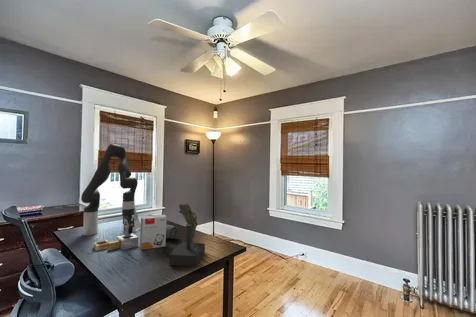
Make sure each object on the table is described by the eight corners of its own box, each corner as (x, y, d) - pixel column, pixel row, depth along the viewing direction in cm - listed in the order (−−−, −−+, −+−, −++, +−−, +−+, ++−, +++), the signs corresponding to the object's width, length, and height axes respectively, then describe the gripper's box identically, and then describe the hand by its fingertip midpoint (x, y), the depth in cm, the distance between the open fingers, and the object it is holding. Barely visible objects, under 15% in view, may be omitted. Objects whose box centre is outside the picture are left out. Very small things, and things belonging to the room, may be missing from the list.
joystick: (179, 252, 143) (179, 220, 143) (205, 253, 141) (205, 221, 141) (166, 266, 124) (167, 229, 124) (196, 267, 122) (196, 230, 122)
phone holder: (133, 233, 178) (134, 209, 178) (121, 232, 179) (122, 209, 179) (144, 226, 195) (144, 205, 196) (133, 226, 196) (133, 205, 196)
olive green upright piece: (203, 246, 150) (194, 201, 153) (198, 250, 143) (189, 203, 146) (185, 248, 155) (177, 204, 157) (179, 252, 148) (171, 206, 150)
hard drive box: (140, 250, 144) (141, 218, 144) (139, 246, 151) (140, 216, 151) (166, 246, 151) (166, 216, 151) (164, 242, 158) (164, 214, 158)
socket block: (116, 245, 151) (117, 236, 151) (132, 242, 158) (132, 233, 158) (121, 250, 144) (122, 240, 144) (138, 246, 151) (138, 237, 151)
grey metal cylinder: (123, 245, 151) (123, 224, 151) (129, 244, 154) (129, 223, 154) (125, 247, 148) (125, 225, 148) (131, 245, 151) (131, 224, 151)
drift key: (107, 249, 144) (108, 242, 144) (123, 245, 150) (123, 239, 150) (109, 250, 142) (109, 243, 142) (124, 246, 148) (124, 240, 149)
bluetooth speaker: (144, 237, 169) (144, 223, 169) (153, 233, 177) (153, 220, 177) (169, 241, 160) (169, 227, 160) (177, 237, 169) (177, 224, 169)
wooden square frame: (93, 247, 148) (93, 242, 148) (107, 244, 153) (107, 239, 153) (96, 250, 142) (96, 246, 142) (110, 247, 148) (110, 242, 148)
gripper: (138, 208, 149) (138, 233, 149) (130, 205, 159) (130, 228, 159) (126, 210, 144) (125, 236, 143) (118, 206, 154) (118, 231, 154)
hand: (128, 232), depth 151 cm, fingers open, 8 cm apart
